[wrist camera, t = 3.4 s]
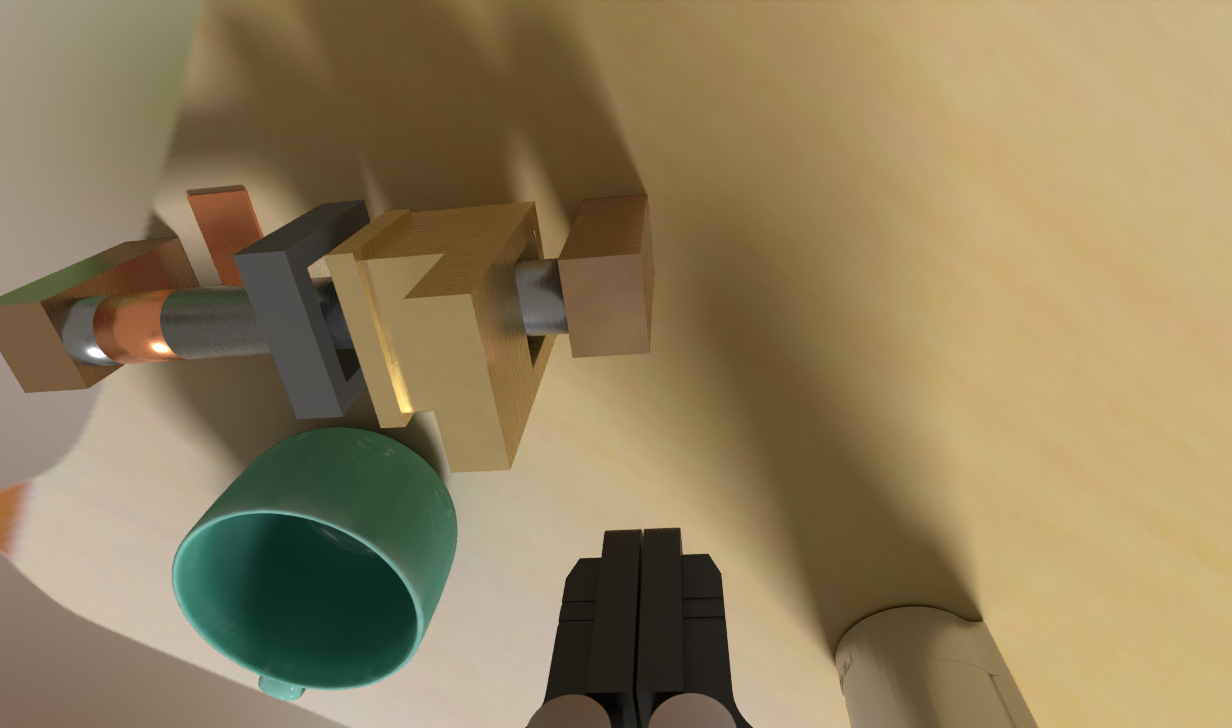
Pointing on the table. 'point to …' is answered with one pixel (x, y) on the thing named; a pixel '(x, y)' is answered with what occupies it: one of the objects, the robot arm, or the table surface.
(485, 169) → the table surface
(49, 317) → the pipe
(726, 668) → the robot arm
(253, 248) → the dark grey square plate
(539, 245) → the tan notched block
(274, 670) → the mug
